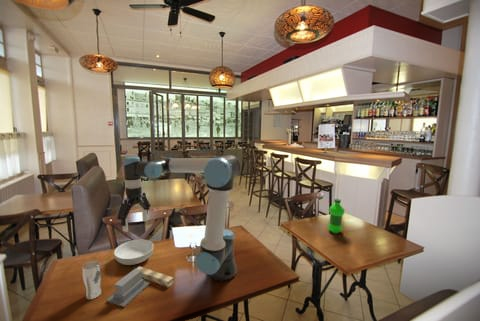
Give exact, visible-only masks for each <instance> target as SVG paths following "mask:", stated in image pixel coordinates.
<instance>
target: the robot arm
mask: <svg viewBox="0 0 480 321" xmlns="http://www.w3.org/2000/svg"><path fill="white" fill-rule="evenodd" d="M241 169H242V165H241V161H240V159H239V158H237V156H235V155H234V154H233V155H232V154H225V155H216V156H214V157H202V158H201V157H197V158H196V157H195V158H194V157H193V158H192V157H191V158H190V157H187V158H186V157H185V158H181V157H180V158H177V157H176V158H172V157H164V158H160V159H156V160H152V161H151V160H150V161H141V158H140V157H139V156H126V157H124V158H123V171H124V173H123V174H124V186H125V195H126V198H125V199H124V198H122V199H121V204H120V206H119V211H118V214H117V218H116V219H117V220H118V221H120V224H121V226H122V232H124V233H128V232H129V224H128V223H129V222H128V218H127V217H128V215H129V213H130V212H131V209H132V208H133V207H134V206H135V205H139V206H140V207H141V208H142V209H141V210H142V211H141V212H142V221H143V222H148V215H149V213H148V212H149V210H150V207H151V204H150V201H149V199H148V197H147V195H146V192H143V191H142V178H150V179H157V178H159V177H160V176H161V175H162V174H165V173H181V174H182V173H183V174H184V173H191V174H194V173H195V174H203V178H204V180H205V182H206V189H208V190H209V192H208V200H207V210H206V221H205V228H204V230H205V231H204V237H203V238H201V240H200V245H199V251H198V252H197V254H196V255H195V257H194V264H195V267H196V268H197V269H198V270H199V272H201V273H203V274H205V275H208V276H209V277H210V278H211V279H213V280H216V281H218V280H220V281H223V280H225V281H228V279H229V280H231V279H233V278H234V277H235V276H236V275H235V274H237V265H236V262H235V258H234V257H235V256H234V251H235V250H234V249H235V245H234V244H235V235H234V232H233V231H232V230H230V229H227V228H225V226H226V225H225V224H226V215H227V209H228V201H229V193H230V192H232V190H233V189H234V188H233V187H234V180H235V178H237V177H238V176H239V175H240V173H241ZM233 276H234V277H233ZM232 277H233V278H232ZM223 282H224V281H223Z"/></svg>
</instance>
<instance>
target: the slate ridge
mask: <svg viewBox="0 0 480 321" xmlns="http://www.w3.org/2000/svg"><path fill="white" fill-rule="evenodd" d="M149 284H150V285H151V281H148V280H145V279H142V270H139V269H136V268H134V269H133V270H131V271H130V272H128V273H127V274H126V275H125V276H122V278H121V279H119V280H118V281H116V283H114V291H113V294H112V295H110V296H109V297H108V298H107V299H106V302H107V301H109V302H112V303H114V304H117V305H120V306H123V307H125V306H126V305H127V304H128V303H129V302H130V301H131V300H132V299H133V298H135V296H137V295H138V294H139V293H140V292H141V291H142V290H143V289H144V288H145V287H146V286H148V285H149ZM150 285H149V286H150ZM149 286H148V287H149ZM143 291H144V290H143ZM143 291H142V292H143ZM142 292H141V293H142ZM141 293H140V294H141ZM140 294H139V295H140ZM139 295H138V296H139ZM138 296H137V297H138ZM135 299H136V298H135ZM132 301H133V300H132ZM132 301H131V302H132ZM109 302H108V303H109ZM131 302H130V303H131ZM112 303H111V304H112ZM130 303H129V304H130ZM114 304H113V305H114ZM129 304H128V305H129ZM117 305H116V306H117ZM128 305H127V306H128ZM120 306H119V307H120ZM127 306H126V307H127ZM123 307H122V308H123ZM126 307H125V308H126Z"/></svg>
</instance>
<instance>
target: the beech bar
mask: <svg viewBox="0 0 480 321" xmlns="http://www.w3.org/2000/svg"><path fill="white" fill-rule="evenodd" d="M135 269H139V270H142V278H144V280H145V279H148V280H150V281H149V282H151V281H153V282H152V283H154V282H156V283H159V284H161V285H160V286H162V285H164V286H163V287H165V286H166V287H165V288H168V287H169V286H170V287H171V286H173V285H174V277H173V276H169V275H166V274H164V273H162V272H161V273H160V272H157V271H154V270H151V269H149V268H145V267H142V266H137V268H135ZM148 280H147V281H148ZM156 283H155V284H156ZM159 284H158V285H159ZM170 287H169V288H170Z"/></svg>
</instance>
